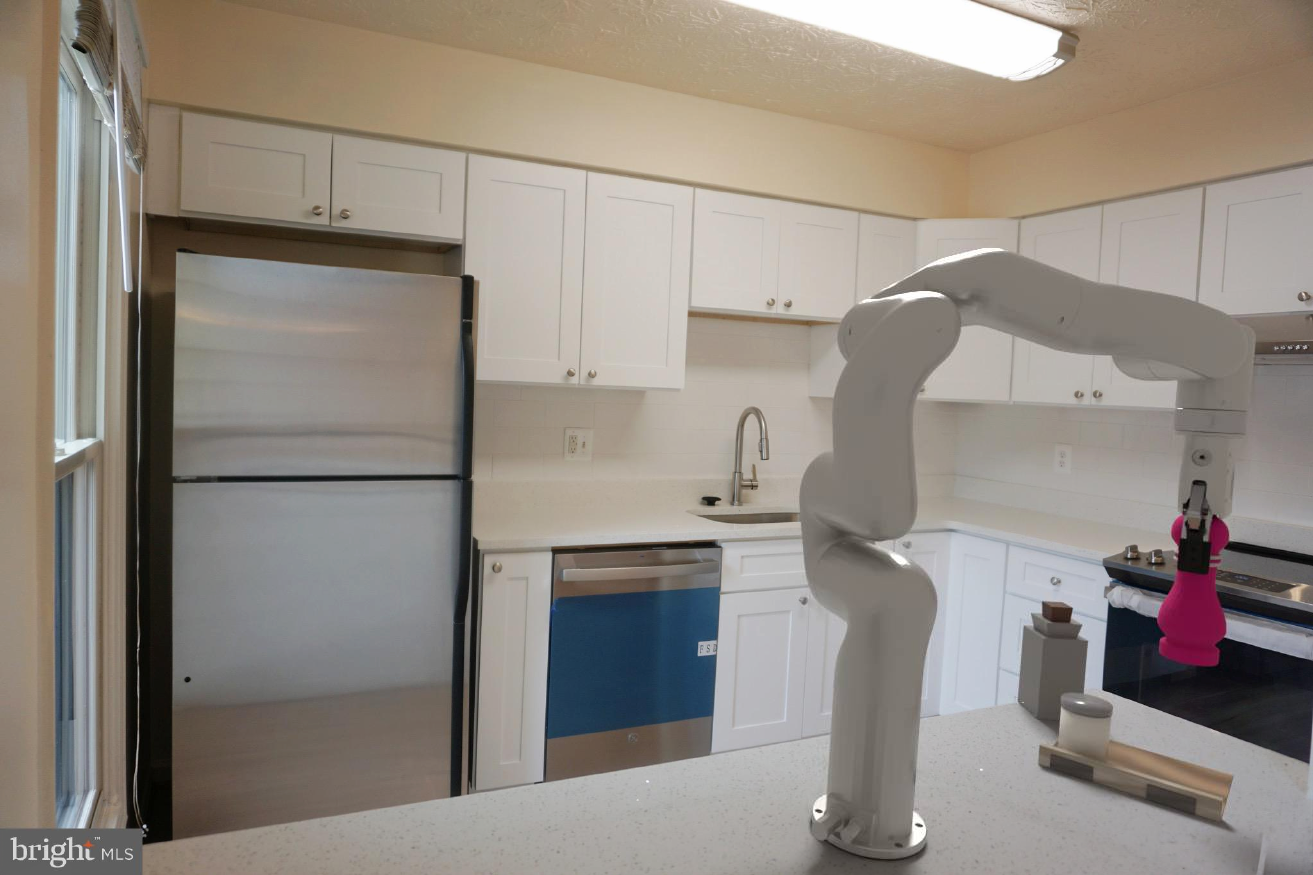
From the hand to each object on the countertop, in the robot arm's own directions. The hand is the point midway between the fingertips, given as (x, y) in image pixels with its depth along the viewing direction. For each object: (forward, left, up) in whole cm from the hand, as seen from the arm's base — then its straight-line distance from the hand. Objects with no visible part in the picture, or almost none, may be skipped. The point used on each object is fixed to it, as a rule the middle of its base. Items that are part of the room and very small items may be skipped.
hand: (1196, 567), depth 99 cm
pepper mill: (0, 0, -12) cm, 12 cm away
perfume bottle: (+15, +19, -30) cm, 38 cm away
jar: (0, +11, -28) cm, 30 cm away
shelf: (+2, +5, -29) cm, 30 cm away
